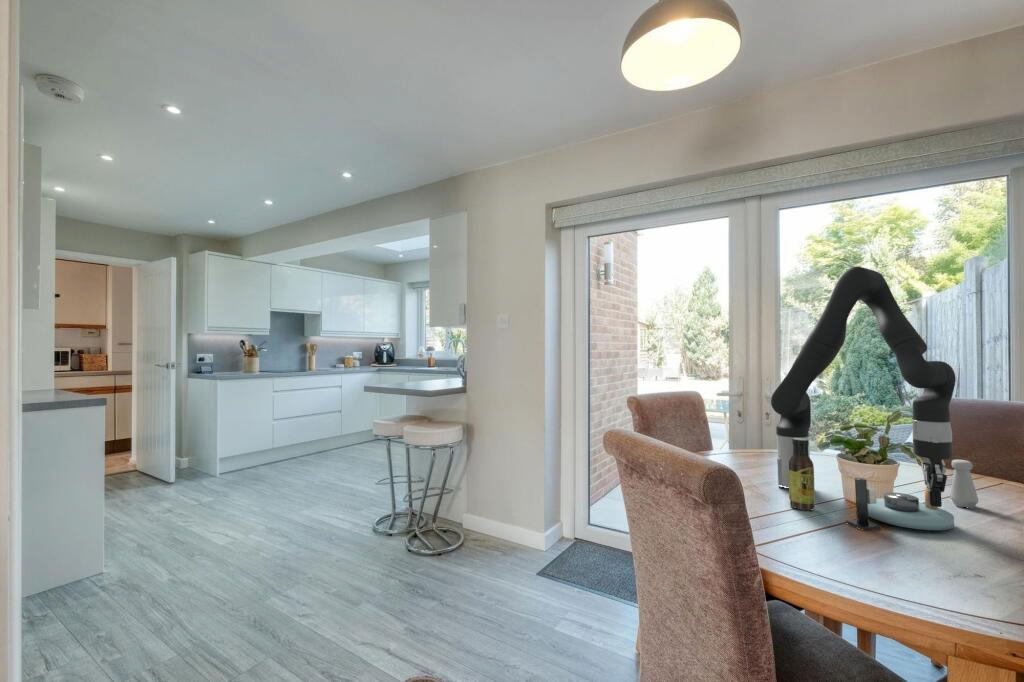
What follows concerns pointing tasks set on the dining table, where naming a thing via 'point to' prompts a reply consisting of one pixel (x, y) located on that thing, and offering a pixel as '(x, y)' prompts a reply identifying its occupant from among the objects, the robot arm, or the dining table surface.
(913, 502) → the cover
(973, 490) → the salt shaker
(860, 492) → the post
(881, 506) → the turntable
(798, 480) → the sauce bottle
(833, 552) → the dining table surface
